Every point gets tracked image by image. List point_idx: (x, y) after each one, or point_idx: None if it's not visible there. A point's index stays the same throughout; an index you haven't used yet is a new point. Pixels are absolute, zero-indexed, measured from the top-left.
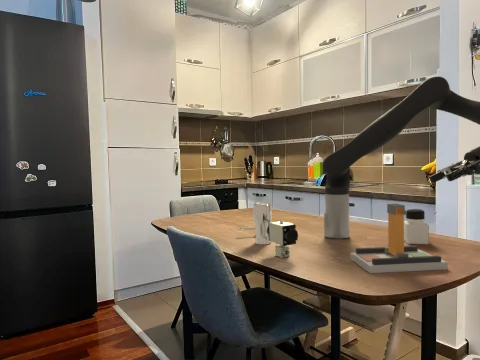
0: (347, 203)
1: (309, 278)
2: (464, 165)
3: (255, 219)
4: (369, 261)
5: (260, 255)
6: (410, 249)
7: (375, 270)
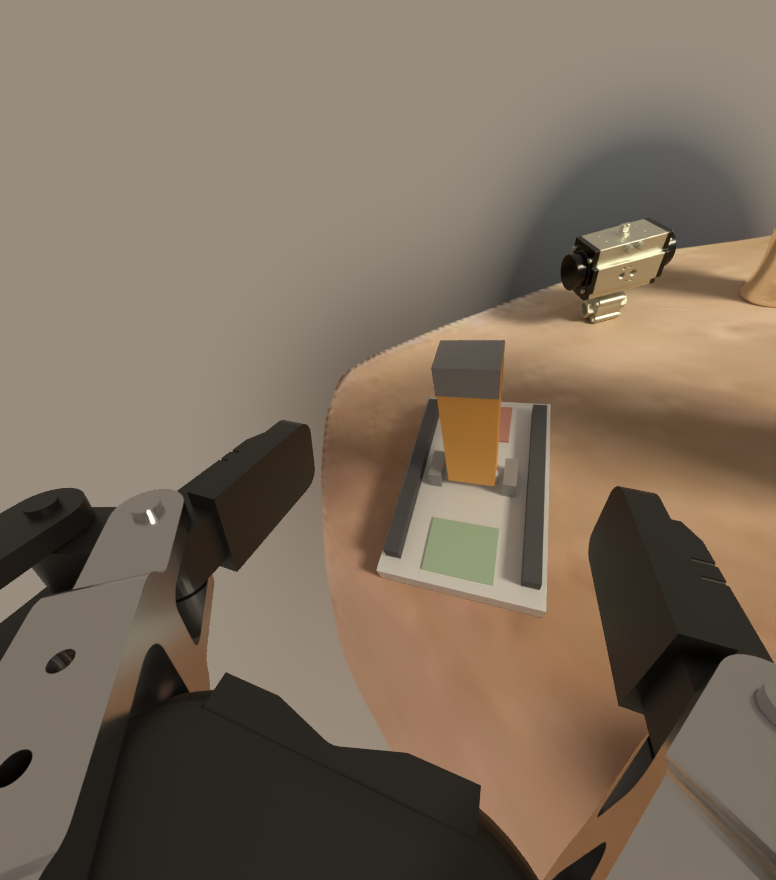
0: None
1: (443, 330)
2: (68, 596)
3: None
4: None
5: None
6: (523, 556)
7: None
